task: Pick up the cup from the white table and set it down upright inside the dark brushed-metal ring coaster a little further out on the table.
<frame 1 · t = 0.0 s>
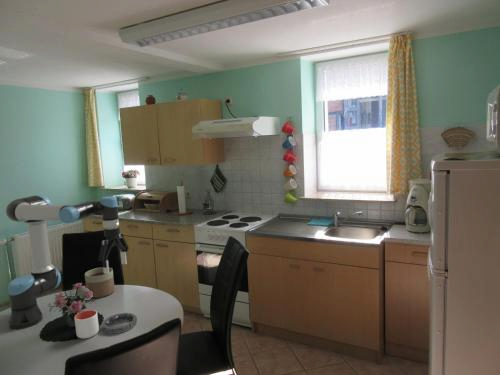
hand: (115, 268, 187), 28 cm above the table, fingers open, 13 cm apart
cup: (88, 334, 179), on the table
planter: (101, 293, 228), on the table
ring coaster: (120, 325, 186), on the table
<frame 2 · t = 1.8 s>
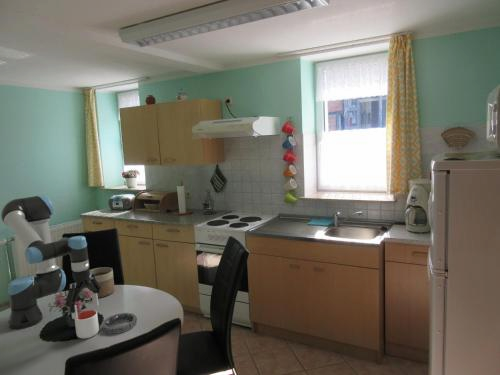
hand: (85, 311, 177), 11 cm above the table, fingers open, 13 cm apart
nothing on the table moved.
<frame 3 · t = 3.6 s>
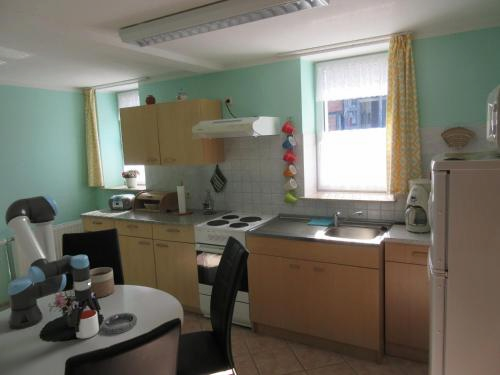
hand: (87, 331, 179), 1 cm above the table, fingers closed on cup, 10 cm apart
cup: (88, 334, 179), on the table, touching gripper
everything else where it was.
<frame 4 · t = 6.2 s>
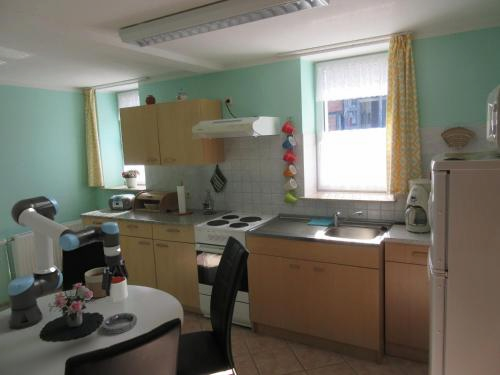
hand: (117, 297, 184), 15 cm above the table, fingers closed on cup, 10 cm apart
cup: (117, 299, 184), point 14 cm above the table, touching gripper
everything else where it was.
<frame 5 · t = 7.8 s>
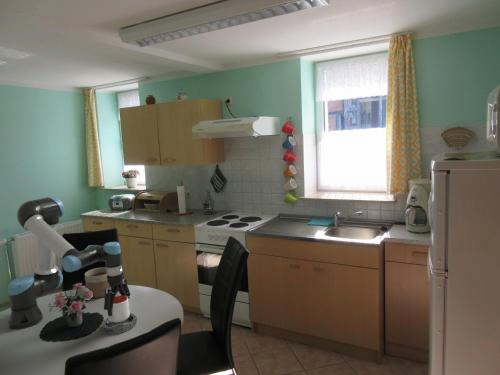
hand: (119, 316, 186), 5 cm above the table, fingers closed on cup, 10 cm apart
cup: (119, 319, 186), point 3 cm above the table, touching gripper
everything else where it was.
when the fingers open (3 cm above the table, at t = 9.1 s): cup drops 1 cm, resting on ring coaster.
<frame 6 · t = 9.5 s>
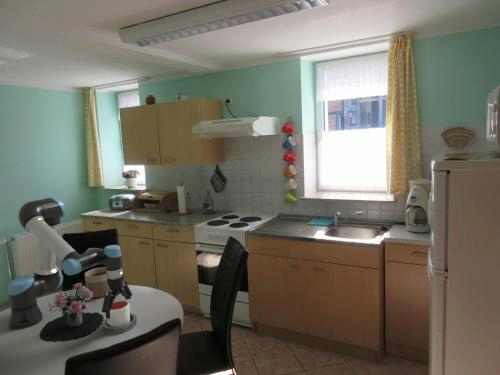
hand: (119, 317, 186), 4 cm above the table, fingers open, 13 cm apart
cup: (119, 324, 186), resting on ring coaster
everything else where it was.
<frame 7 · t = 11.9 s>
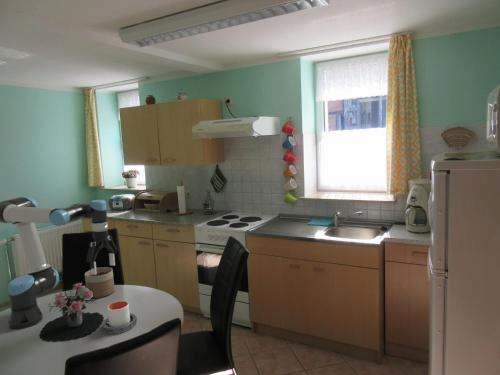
hand: (103, 269, 194), 26 cm above the table, fingers open, 13 cm apart
nothing on the table moved.
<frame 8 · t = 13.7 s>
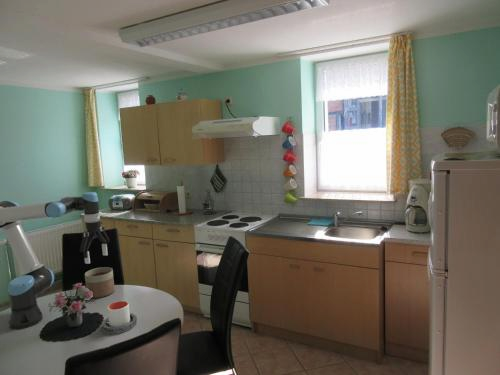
hand: (96, 259, 202), 29 cm above the table, fingers open, 13 cm apart
nothing on the table moved.
at the end: cup 0.0 cm from the ring coaster (horizontally); cup tilted 0°; the gripper is holding nothing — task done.
